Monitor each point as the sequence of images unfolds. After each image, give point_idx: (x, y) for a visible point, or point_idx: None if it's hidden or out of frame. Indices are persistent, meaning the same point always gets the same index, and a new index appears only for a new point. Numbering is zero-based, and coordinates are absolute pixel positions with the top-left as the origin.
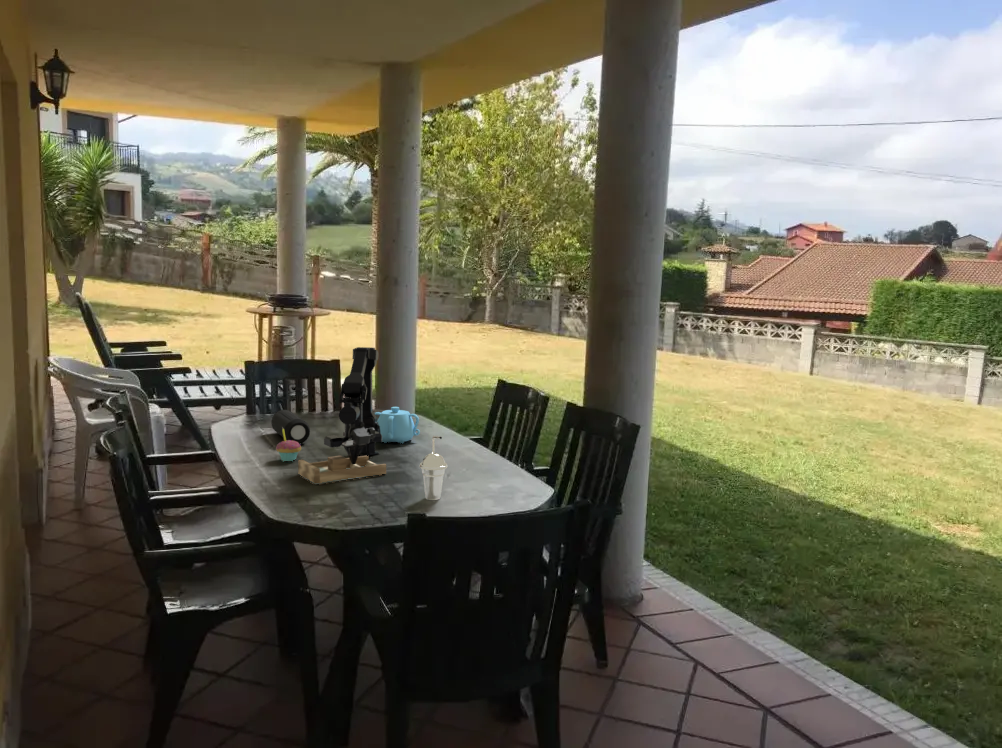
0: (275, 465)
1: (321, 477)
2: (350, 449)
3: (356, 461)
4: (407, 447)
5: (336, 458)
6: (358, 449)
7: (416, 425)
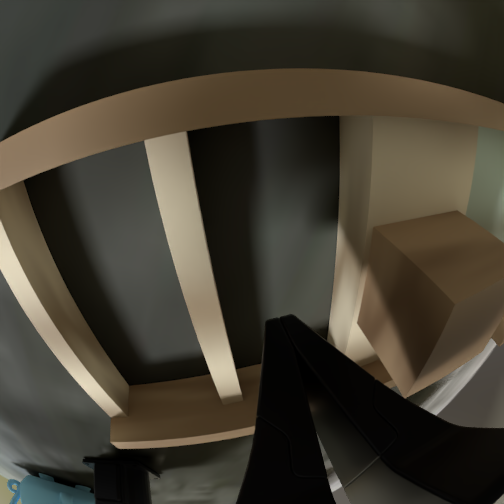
0: (427, 390)
1: None
2: (464, 435)
3: (194, 412)
4: (19, 458)
5: (491, 310)
6: (295, 496)
7: (12, 500)
